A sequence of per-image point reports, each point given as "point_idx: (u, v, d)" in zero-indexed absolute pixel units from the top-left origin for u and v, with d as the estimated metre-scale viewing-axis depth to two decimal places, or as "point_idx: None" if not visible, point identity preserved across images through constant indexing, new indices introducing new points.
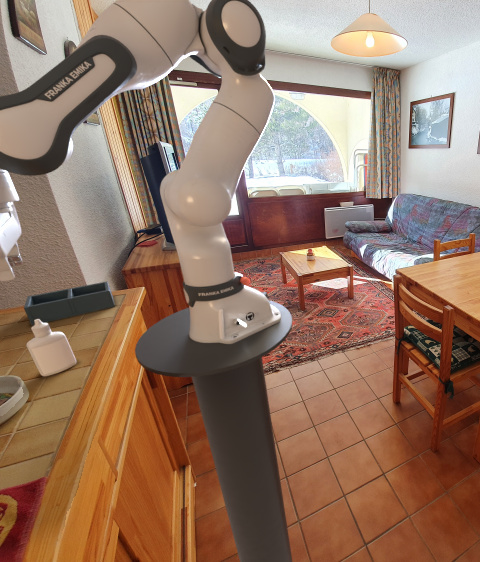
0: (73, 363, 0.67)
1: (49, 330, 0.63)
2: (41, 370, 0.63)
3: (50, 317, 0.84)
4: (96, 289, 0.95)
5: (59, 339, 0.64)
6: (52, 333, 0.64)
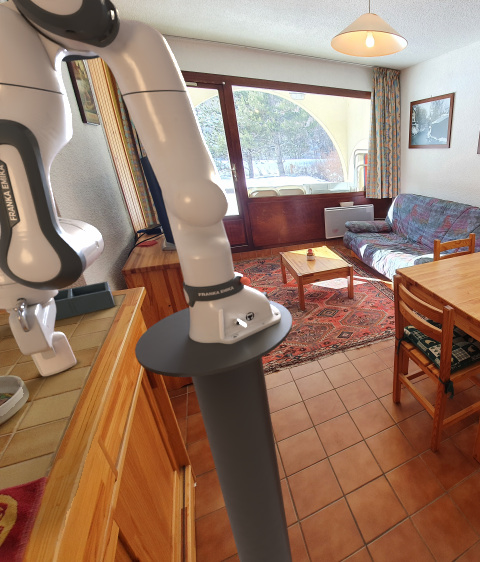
0: (73, 363, 0.67)
1: None
2: (41, 370, 0.63)
3: None
4: (96, 289, 0.95)
5: (59, 339, 0.64)
6: None
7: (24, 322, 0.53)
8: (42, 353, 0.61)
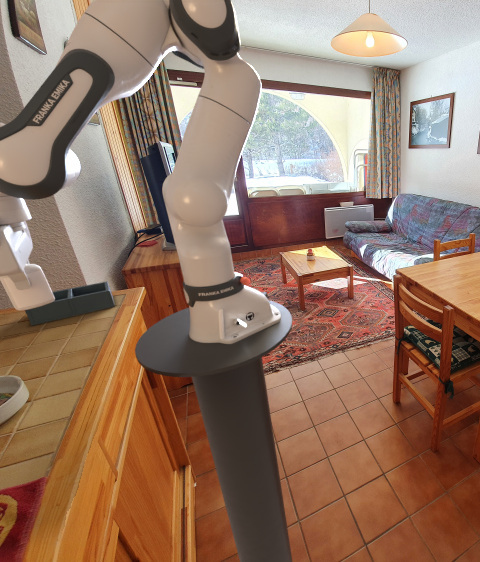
0: (51, 299, 0.62)
1: None
2: (15, 303, 0.59)
3: (50, 317, 0.84)
4: (96, 289, 0.95)
5: (34, 271, 0.59)
6: (26, 264, 0.59)
7: None
8: (15, 282, 0.57)
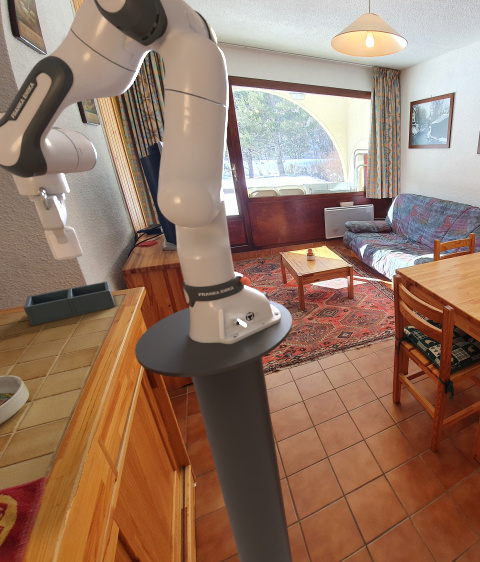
0: (80, 254, 0.83)
1: None
2: (55, 254, 0.79)
3: (50, 317, 0.84)
4: (96, 289, 0.95)
5: (69, 231, 0.80)
6: None
7: (45, 201, 0.70)
8: (57, 238, 0.78)
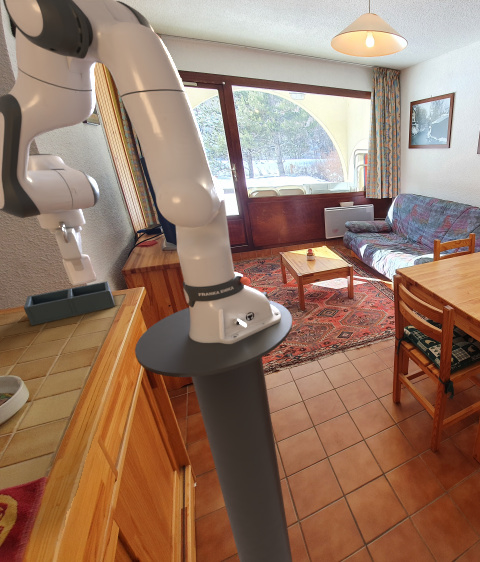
0: (94, 279, 0.90)
1: None
2: (72, 280, 0.86)
3: (50, 317, 0.84)
4: (96, 289, 0.95)
5: (85, 258, 0.87)
6: None
7: (65, 235, 0.77)
8: (74, 266, 0.85)
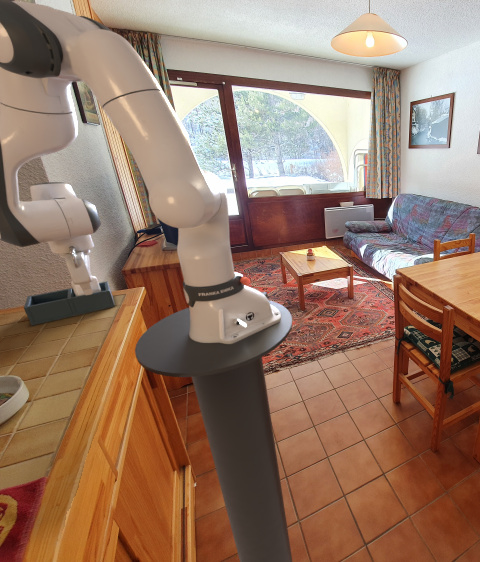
0: None
1: None
2: None
3: (50, 317, 0.84)
4: None
5: (93, 280, 0.90)
6: None
7: (75, 260, 0.79)
8: (83, 290, 0.86)
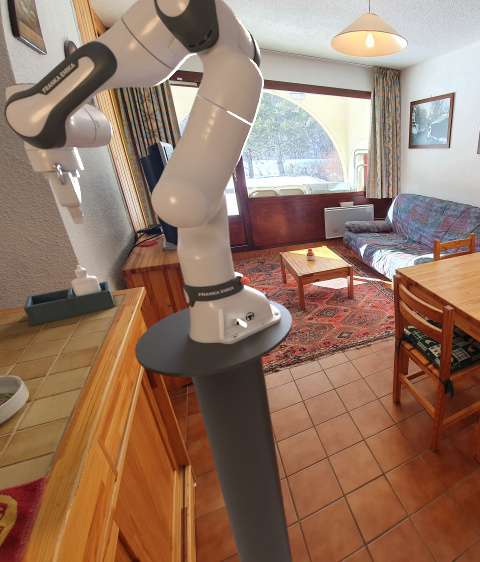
0: None
1: (86, 273, 0.89)
2: None
3: (50, 317, 0.84)
4: None
5: (93, 280, 0.90)
6: (88, 276, 0.90)
7: (61, 175, 0.68)
8: (73, 217, 0.75)
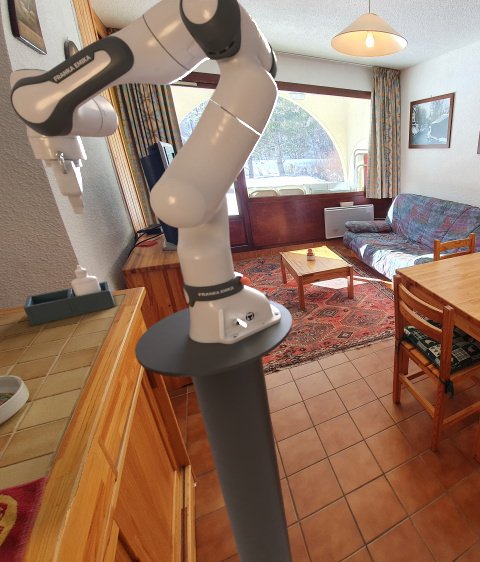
0: None
1: (86, 273, 0.89)
2: None
3: (50, 317, 0.84)
4: None
5: (93, 280, 0.90)
6: (88, 276, 0.90)
7: (63, 164, 0.67)
8: (74, 207, 0.73)
